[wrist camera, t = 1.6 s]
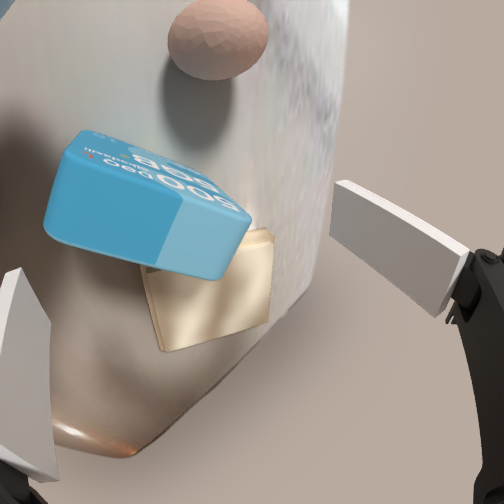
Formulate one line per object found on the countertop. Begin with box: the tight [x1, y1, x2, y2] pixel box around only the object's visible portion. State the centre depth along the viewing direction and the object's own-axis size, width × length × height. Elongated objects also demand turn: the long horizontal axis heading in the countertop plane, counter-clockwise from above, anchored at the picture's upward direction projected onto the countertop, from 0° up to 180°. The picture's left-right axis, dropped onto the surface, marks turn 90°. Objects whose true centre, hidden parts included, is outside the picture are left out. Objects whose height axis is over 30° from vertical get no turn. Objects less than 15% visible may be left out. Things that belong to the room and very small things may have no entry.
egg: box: [168, 0, 269, 81], centre depth 17 cm, size 7×7×10 cm
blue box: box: [43, 130, 252, 281], centre depth 20 cm, size 12×4×12 cm, turn 59°
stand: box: [139, 228, 275, 352], centre depth 33 cm, size 14×12×3 cm
